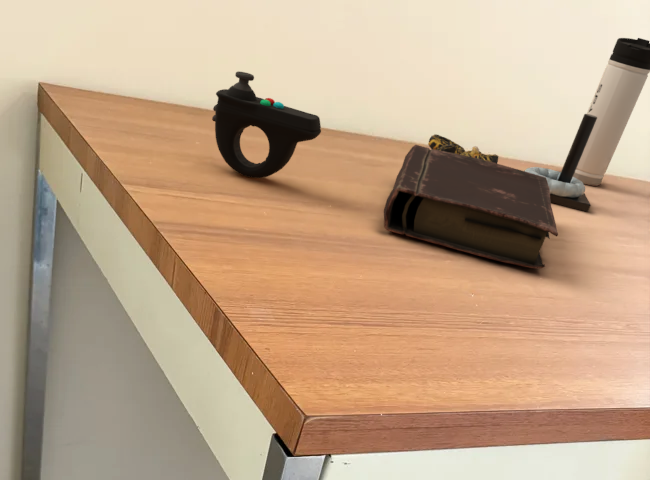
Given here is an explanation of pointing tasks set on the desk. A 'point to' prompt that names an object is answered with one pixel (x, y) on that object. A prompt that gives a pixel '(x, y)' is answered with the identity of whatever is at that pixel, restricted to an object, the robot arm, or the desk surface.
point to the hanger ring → (559, 183)
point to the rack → (575, 165)
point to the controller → (271, 117)
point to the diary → (471, 206)
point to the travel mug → (613, 106)
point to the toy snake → (458, 148)
